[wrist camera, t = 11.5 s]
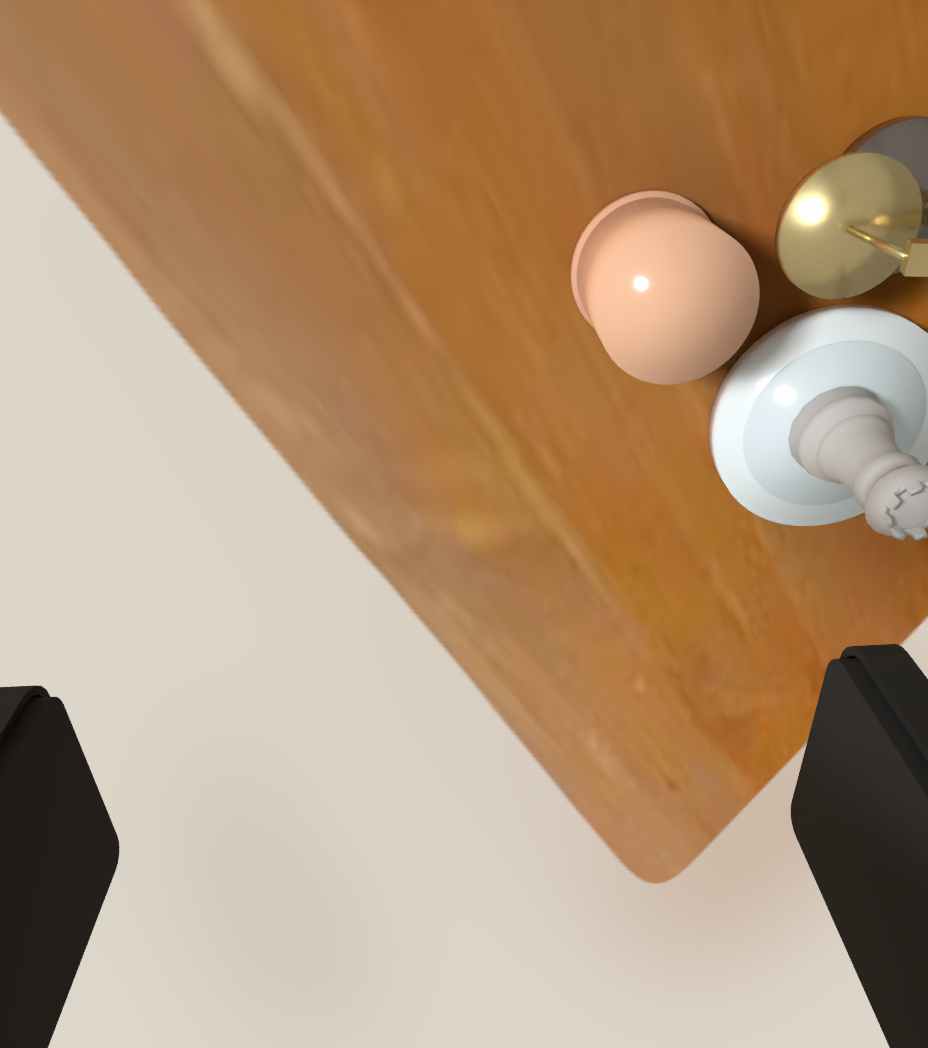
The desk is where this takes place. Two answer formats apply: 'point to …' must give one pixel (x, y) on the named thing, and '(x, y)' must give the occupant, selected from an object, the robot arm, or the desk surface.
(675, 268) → the peach dome knob
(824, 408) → the rook chess piece
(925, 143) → the balance
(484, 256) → the desk surface
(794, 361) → the dish
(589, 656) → the desk surface
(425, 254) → the desk surface
